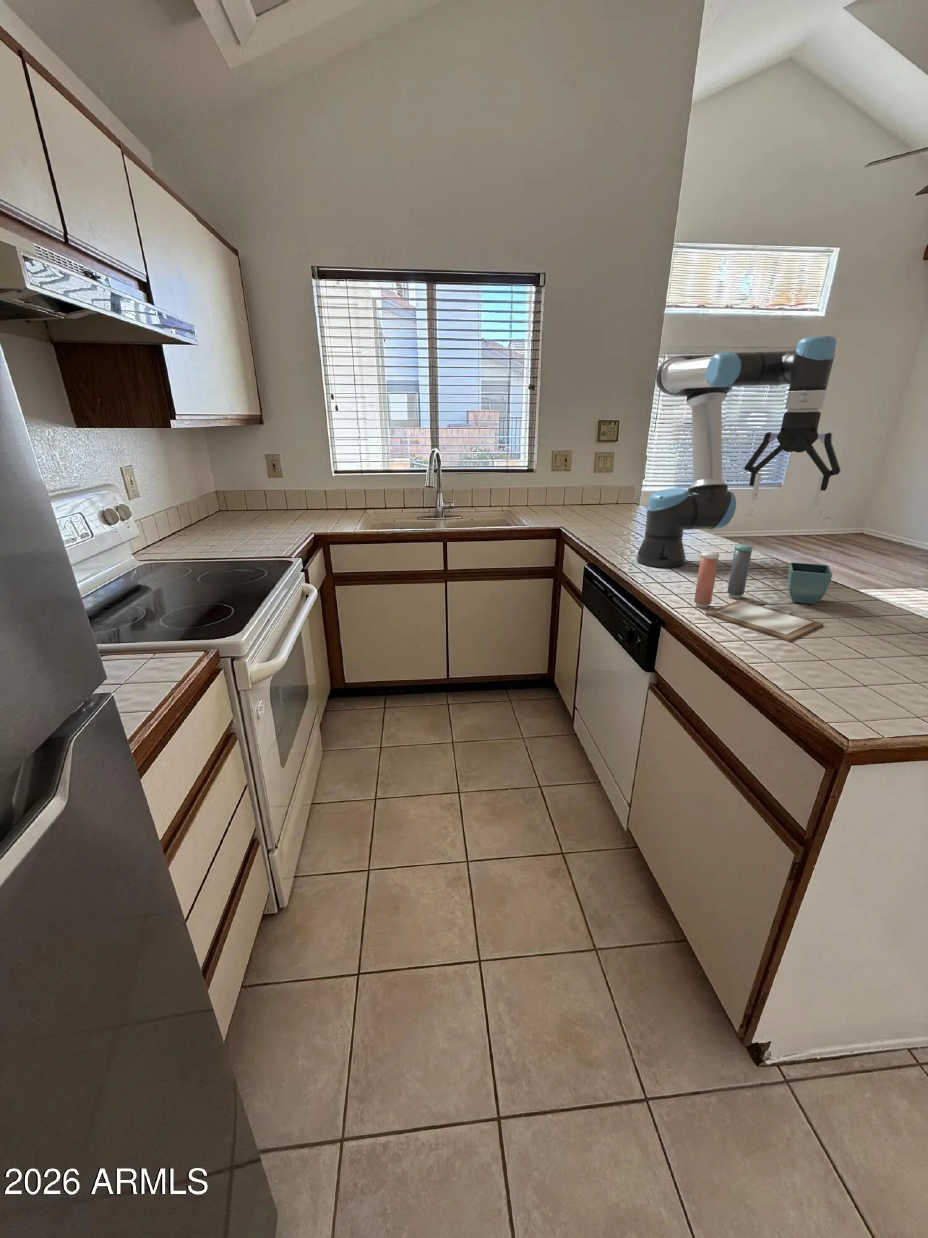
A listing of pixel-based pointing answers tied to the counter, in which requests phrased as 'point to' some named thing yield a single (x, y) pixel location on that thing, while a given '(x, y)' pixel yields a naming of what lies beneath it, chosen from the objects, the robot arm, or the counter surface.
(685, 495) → the robot arm
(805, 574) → the flower pot
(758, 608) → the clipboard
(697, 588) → the pink bottle
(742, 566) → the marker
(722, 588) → the counter surface
